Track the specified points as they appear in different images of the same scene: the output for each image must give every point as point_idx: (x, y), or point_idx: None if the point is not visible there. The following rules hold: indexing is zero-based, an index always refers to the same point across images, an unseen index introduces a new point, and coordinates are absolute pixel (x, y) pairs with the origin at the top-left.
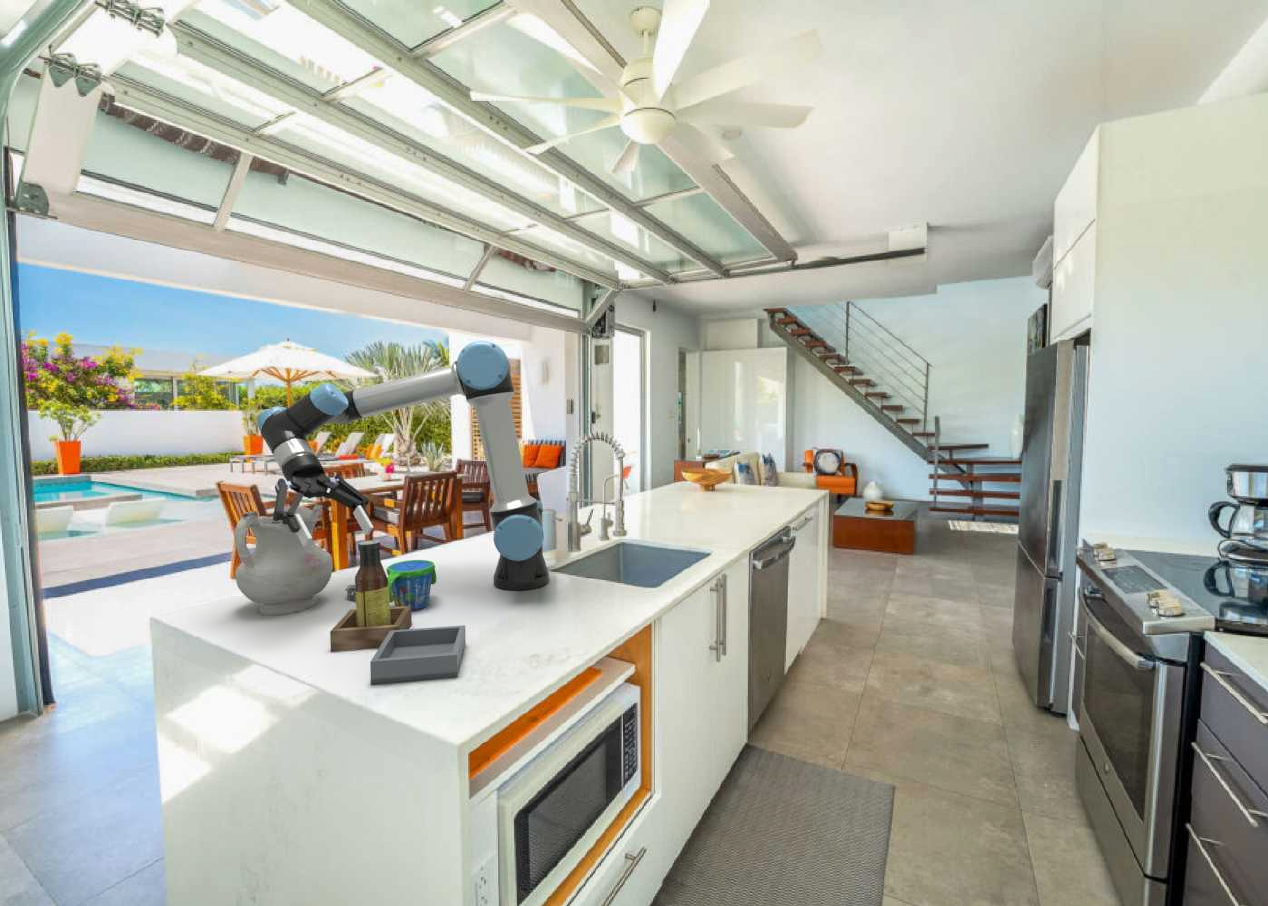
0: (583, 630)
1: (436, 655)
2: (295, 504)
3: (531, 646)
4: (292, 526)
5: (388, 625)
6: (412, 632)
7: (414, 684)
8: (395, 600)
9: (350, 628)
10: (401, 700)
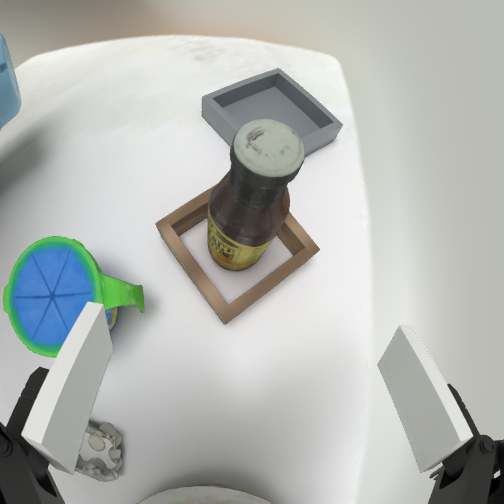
0: (122, 57)
1: (292, 80)
2: (475, 501)
3: (178, 68)
4: (457, 398)
5: None
6: None
7: None
8: (113, 317)
9: (294, 229)
10: (331, 103)
